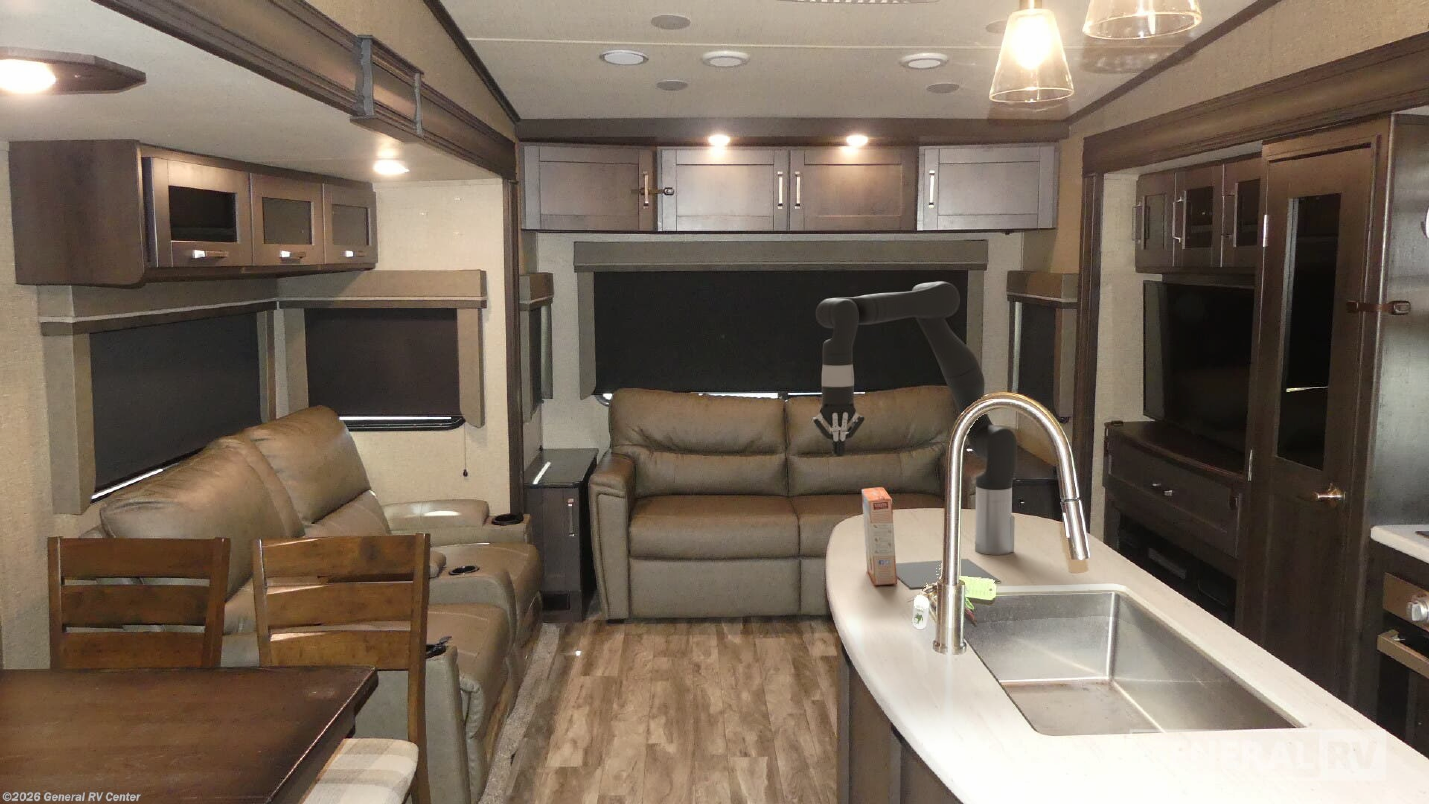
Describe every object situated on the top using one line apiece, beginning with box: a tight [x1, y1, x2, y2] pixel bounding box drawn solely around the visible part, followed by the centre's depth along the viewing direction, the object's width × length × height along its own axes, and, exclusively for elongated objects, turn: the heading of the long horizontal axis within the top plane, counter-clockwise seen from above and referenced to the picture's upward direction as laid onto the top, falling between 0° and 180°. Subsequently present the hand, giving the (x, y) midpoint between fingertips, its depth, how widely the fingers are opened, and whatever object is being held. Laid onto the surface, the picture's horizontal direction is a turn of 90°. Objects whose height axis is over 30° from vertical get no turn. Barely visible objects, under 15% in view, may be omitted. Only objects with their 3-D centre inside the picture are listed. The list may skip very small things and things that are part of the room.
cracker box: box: [861, 487, 898, 586], centre depth 257 cm, size 14×6×21 cm, turn 179°
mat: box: [896, 558, 1002, 590], centre depth 261 cm, size 22×20×1 cm
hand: (838, 455), depth 253 cm, fingers closed
